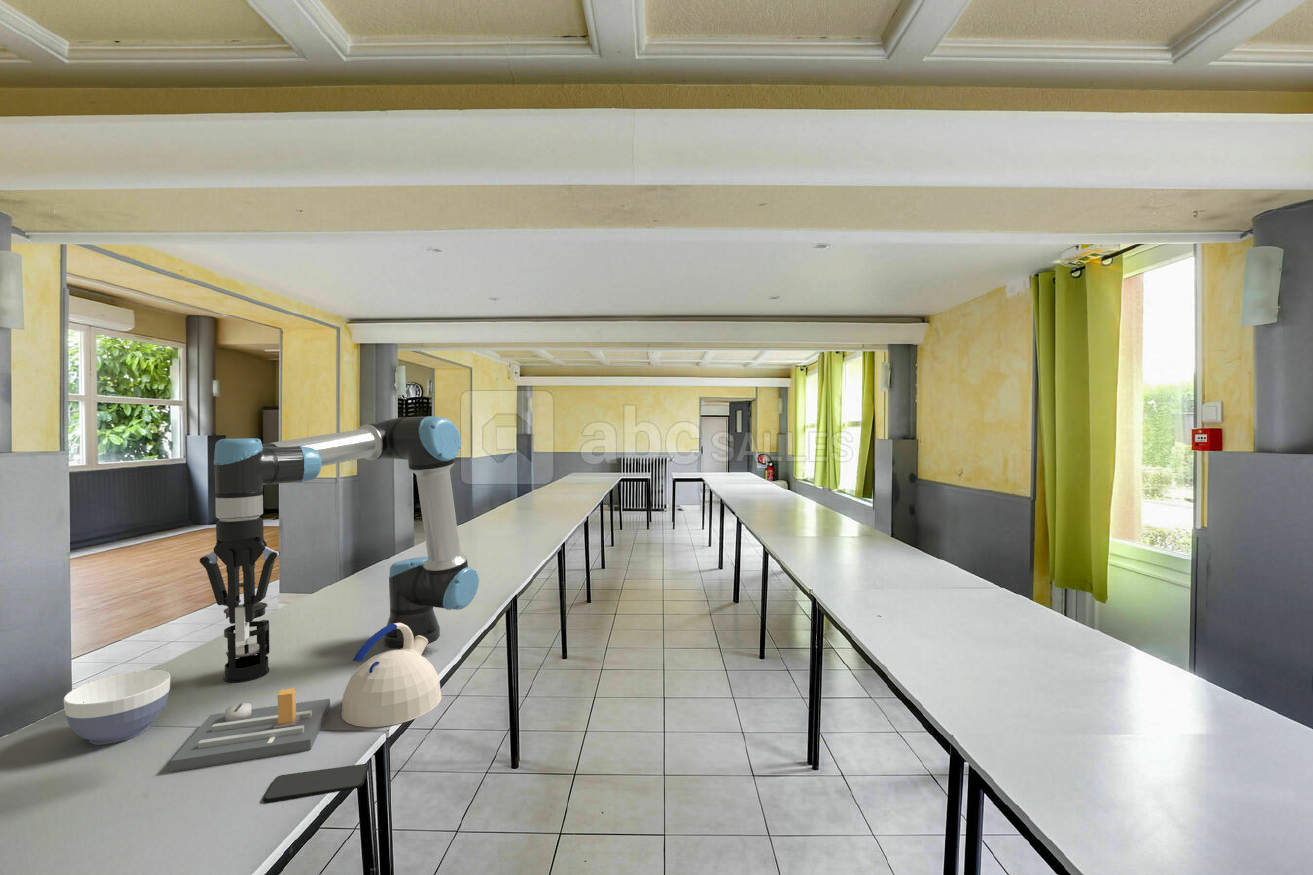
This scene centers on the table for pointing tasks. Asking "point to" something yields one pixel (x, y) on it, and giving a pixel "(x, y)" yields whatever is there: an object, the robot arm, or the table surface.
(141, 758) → the table surface
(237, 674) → the french press
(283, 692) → the fader tab
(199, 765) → the console board
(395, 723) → the kettle
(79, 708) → the bowl
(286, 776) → the smartphone
